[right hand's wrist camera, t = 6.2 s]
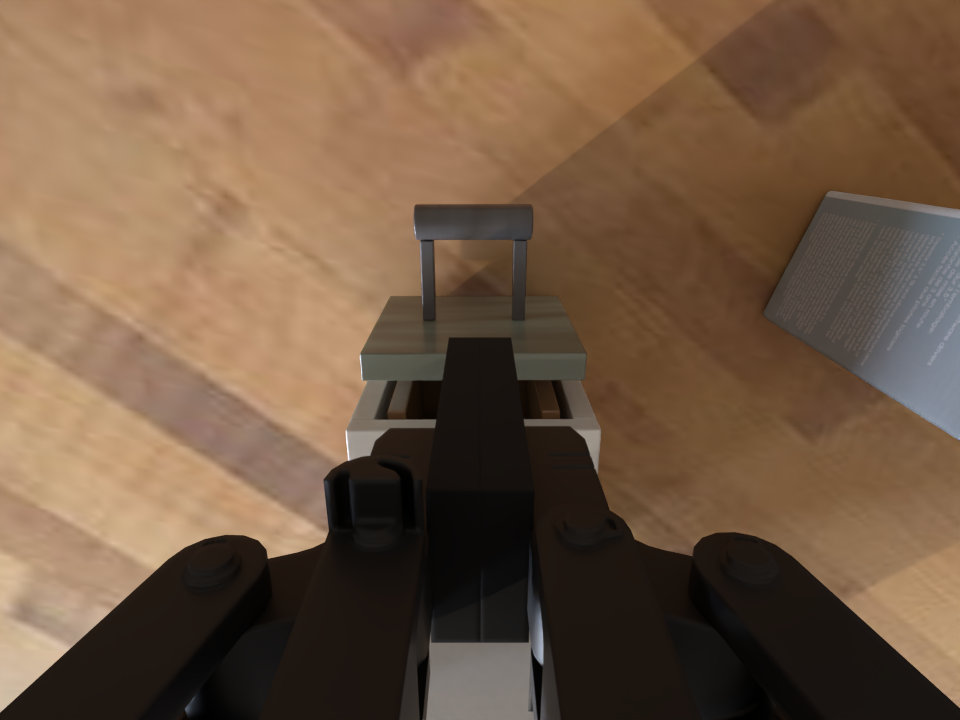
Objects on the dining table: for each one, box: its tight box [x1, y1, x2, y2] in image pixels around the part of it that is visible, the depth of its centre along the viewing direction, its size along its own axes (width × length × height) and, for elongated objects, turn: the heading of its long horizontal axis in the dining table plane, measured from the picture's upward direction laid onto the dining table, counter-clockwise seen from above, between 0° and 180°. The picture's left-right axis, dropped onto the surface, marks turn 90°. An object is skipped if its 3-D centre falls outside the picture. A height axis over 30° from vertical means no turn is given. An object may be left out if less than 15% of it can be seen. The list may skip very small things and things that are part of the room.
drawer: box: [360, 204, 587, 420], centre depth 30 cm, size 20×9×9 cm, turn 0°
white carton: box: [346, 380, 601, 720], centre depth 32 cm, size 16×10×11 cm, turn 0°
